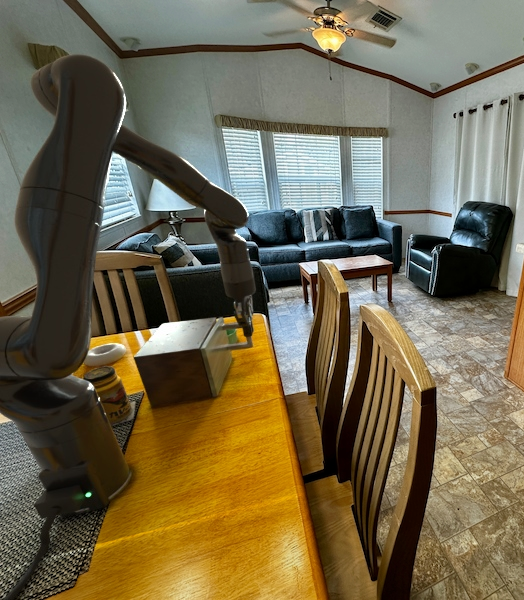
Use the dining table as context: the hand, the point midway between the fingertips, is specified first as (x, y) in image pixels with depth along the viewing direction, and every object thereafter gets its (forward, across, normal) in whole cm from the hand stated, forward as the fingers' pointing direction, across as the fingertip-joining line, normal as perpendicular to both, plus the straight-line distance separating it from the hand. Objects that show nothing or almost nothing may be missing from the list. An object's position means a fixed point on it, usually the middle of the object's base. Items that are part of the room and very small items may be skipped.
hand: (249, 334), depth 94 cm
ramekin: (+9, -13, -11) cm, 19 cm away
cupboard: (+9, +7, -14) cm, 18 cm away
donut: (+9, -11, -43) cm, 45 cm away
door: (+8, +7, -3) cm, 11 cm away
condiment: (+9, +18, -28) cm, 34 cm away
